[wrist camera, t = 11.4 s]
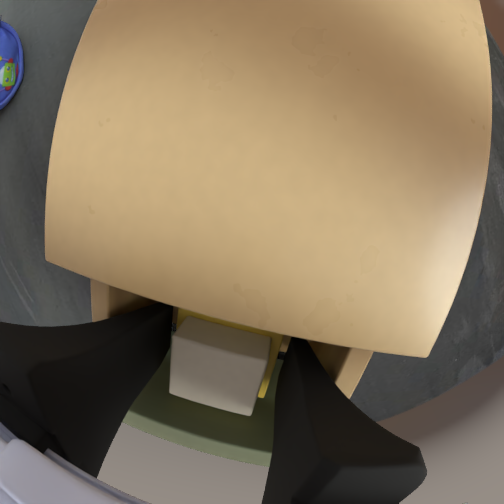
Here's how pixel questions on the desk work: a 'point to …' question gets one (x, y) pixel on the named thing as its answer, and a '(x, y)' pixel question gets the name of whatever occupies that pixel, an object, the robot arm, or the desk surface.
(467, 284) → the desk surface
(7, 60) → the pencil case
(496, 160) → the desk surface
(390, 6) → the cabinet
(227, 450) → the drawer
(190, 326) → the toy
